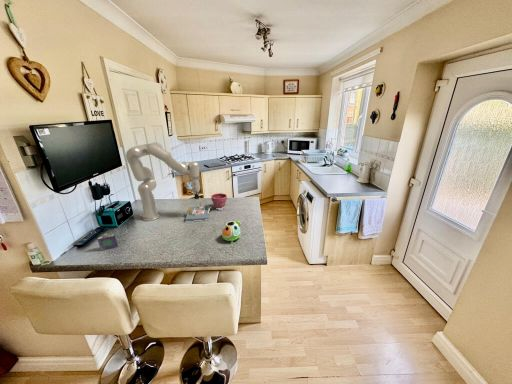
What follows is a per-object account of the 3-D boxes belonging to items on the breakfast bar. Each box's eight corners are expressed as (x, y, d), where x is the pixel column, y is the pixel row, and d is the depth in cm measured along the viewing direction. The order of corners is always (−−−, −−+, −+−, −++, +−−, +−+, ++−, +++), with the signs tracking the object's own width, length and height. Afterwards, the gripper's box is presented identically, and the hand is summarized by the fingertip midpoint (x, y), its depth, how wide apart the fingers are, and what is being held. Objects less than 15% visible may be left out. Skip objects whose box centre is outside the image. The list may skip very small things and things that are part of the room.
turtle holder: (247, 233, 147) (247, 218, 143) (233, 245, 132) (232, 230, 128) (233, 228, 153) (233, 214, 149) (218, 240, 138) (217, 225, 134)
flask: (100, 251, 127) (96, 236, 123) (101, 248, 129) (97, 234, 125) (117, 247, 131) (113, 233, 127) (118, 245, 133) (114, 231, 129)
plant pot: (229, 206, 193) (228, 193, 189) (224, 212, 181) (223, 199, 176) (215, 204, 196) (214, 192, 192) (209, 210, 184) (208, 197, 179)
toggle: (199, 206, 182) (199, 201, 182) (200, 206, 183) (199, 201, 184) (201, 206, 182) (201, 201, 182) (201, 206, 183) (201, 201, 184)
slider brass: (188, 214, 170) (187, 210, 169) (189, 212, 173) (188, 208, 171) (192, 214, 170) (191, 209, 169) (192, 212, 173) (192, 208, 172)
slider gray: (205, 210, 178) (204, 205, 177) (205, 208, 181) (205, 204, 180) (208, 209, 179) (208, 205, 177) (208, 208, 181) (208, 204, 180)
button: (195, 214, 169) (195, 212, 169) (196, 212, 173) (196, 210, 173) (200, 214, 170) (200, 212, 169) (201, 212, 174) (201, 210, 173)
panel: (185, 221, 163) (184, 217, 162) (191, 209, 186) (190, 205, 184) (207, 220, 165) (207, 215, 164) (210, 208, 188) (210, 204, 186)
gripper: (198, 180, 154) (200, 202, 160) (201, 175, 168) (202, 195, 174) (188, 180, 153) (190, 202, 160) (191, 175, 167) (193, 195, 174)
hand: (196, 198), depth 167 cm, fingers closed
